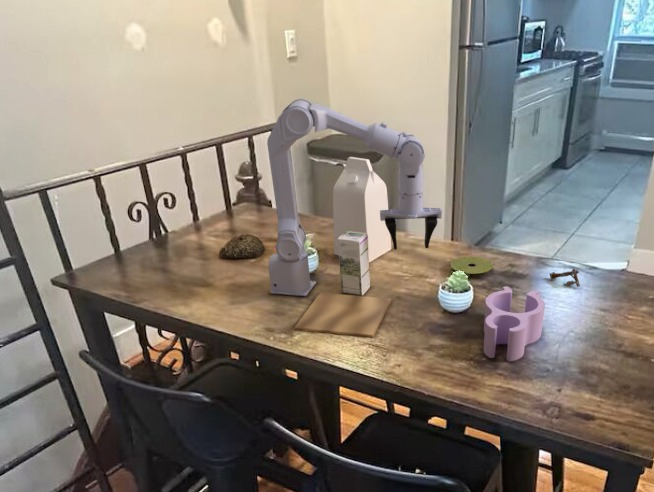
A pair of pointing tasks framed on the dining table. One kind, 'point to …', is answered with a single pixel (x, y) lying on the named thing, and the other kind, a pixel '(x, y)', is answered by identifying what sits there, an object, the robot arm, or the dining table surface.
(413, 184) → the robot arm
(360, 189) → the milk
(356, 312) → the wooden board
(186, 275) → the dining table surface
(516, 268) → the dining table surface
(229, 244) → the bread roll
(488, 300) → the clip
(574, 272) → the wooden post with brackets
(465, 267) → the mat
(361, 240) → the syrup box
